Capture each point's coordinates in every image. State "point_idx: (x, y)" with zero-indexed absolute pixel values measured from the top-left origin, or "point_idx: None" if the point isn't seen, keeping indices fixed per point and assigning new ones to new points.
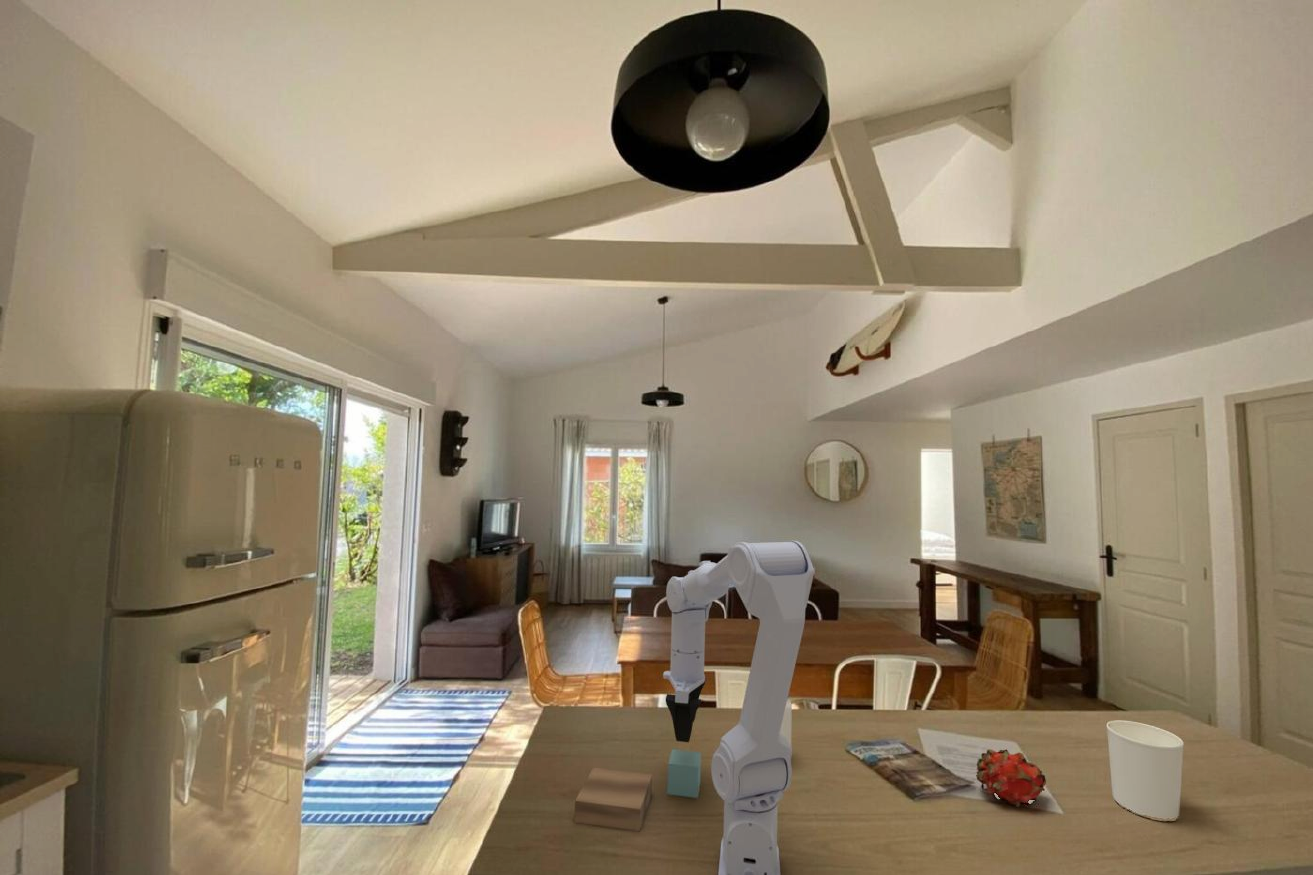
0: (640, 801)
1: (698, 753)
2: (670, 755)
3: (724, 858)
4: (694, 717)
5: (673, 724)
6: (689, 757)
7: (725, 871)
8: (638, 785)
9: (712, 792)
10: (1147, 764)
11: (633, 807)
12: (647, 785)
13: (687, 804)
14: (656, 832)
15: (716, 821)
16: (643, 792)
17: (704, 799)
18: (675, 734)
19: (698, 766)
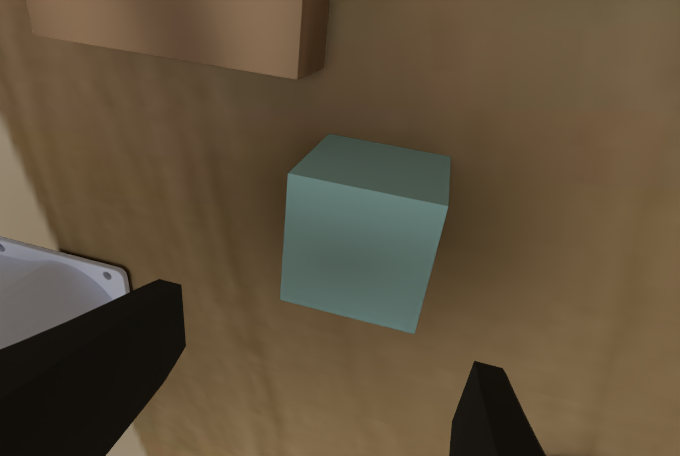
0: (79, 31)
1: (401, 321)
2: (373, 191)
3: (29, 266)
4: (451, 454)
5: (46, 330)
6: (360, 278)
7: (17, 257)
8: (189, 10)
9: None
10: None
11: (32, 2)
12: (200, 58)
13: (275, 201)
14: (109, 91)
15: (208, 270)
16: (144, 41)
17: None
18: (121, 296)
19: (290, 300)
